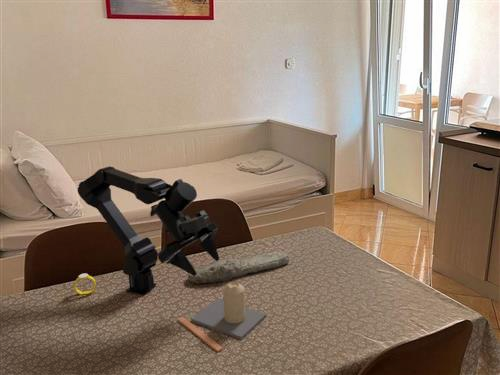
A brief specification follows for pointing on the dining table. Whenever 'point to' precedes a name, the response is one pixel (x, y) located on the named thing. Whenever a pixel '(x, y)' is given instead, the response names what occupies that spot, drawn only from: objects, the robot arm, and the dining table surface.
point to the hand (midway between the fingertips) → (207, 267)
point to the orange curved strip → (200, 334)
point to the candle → (234, 302)
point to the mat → (215, 320)
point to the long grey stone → (238, 267)
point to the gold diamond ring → (82, 277)
